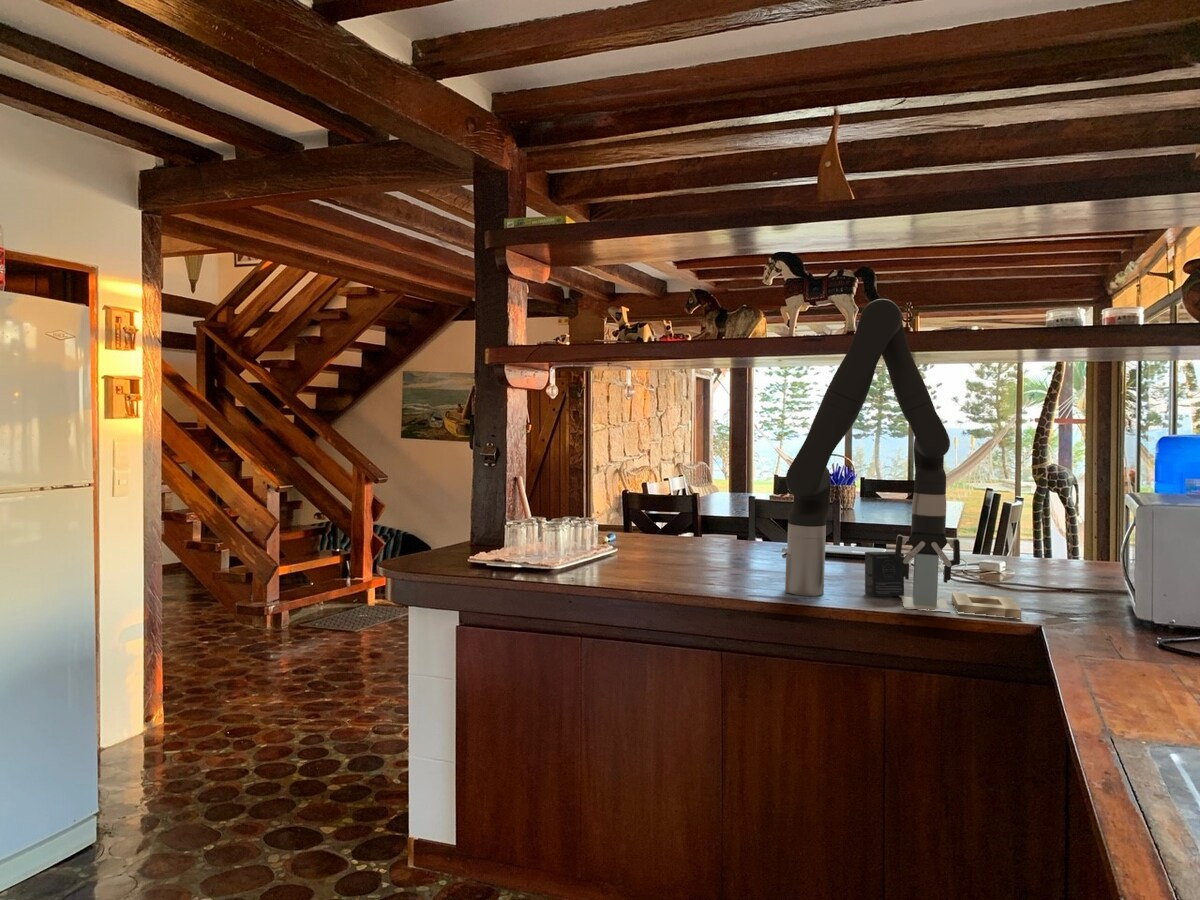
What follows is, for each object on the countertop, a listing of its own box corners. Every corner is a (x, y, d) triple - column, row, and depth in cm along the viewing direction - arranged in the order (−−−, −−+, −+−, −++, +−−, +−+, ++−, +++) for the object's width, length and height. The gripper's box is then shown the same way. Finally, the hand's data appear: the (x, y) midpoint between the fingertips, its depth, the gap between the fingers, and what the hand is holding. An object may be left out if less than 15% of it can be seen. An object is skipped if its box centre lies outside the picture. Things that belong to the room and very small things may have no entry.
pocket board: (957, 614, 188) (958, 604, 188) (951, 601, 200) (952, 592, 200) (1020, 619, 184) (1021, 609, 184) (1010, 606, 196) (1011, 597, 196)
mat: (903, 608, 192) (903, 607, 192) (901, 598, 203) (901, 596, 203) (950, 612, 189) (950, 611, 189) (945, 601, 200) (945, 600, 200)
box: (894, 593, 208) (894, 551, 209) (904, 596, 203) (904, 553, 203) (864, 593, 208) (864, 551, 208) (873, 596, 202) (873, 553, 202)
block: (913, 604, 194) (915, 554, 194) (912, 600, 199) (914, 550, 198) (936, 606, 193) (938, 555, 192) (934, 602, 197) (936, 552, 197)
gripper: (897, 512, 193) (894, 581, 194) (963, 516, 189) (960, 586, 190) (896, 509, 200) (893, 575, 201) (959, 512, 196) (956, 580, 197)
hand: (926, 580), depth 196 cm, fingers open, 8 cm apart
